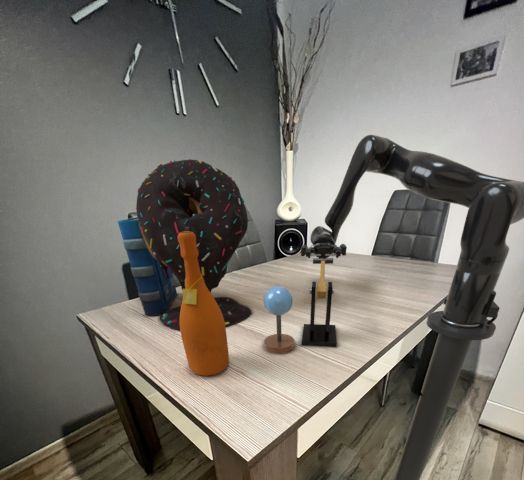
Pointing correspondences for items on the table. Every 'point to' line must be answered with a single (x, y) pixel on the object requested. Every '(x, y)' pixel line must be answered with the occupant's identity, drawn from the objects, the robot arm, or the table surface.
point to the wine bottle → (200, 316)
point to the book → (147, 271)
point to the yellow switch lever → (322, 275)
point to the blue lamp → (278, 319)
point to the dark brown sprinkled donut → (193, 225)
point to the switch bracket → (319, 332)
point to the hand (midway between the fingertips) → (323, 254)
